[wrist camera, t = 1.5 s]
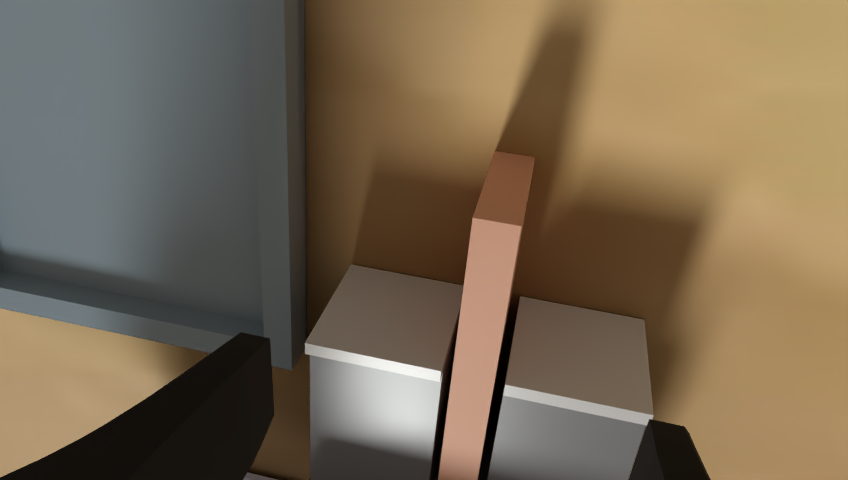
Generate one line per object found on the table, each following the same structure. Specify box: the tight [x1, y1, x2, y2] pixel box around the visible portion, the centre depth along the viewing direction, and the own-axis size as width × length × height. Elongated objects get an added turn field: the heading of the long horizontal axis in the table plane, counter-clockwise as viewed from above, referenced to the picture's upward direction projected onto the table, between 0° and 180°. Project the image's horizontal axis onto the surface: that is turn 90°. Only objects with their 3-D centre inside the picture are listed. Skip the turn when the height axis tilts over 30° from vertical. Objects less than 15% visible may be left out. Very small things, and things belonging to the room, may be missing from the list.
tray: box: [0, 0, 307, 370], centre depth 22 cm, size 17×13×2 cm
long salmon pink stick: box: [438, 151, 535, 480], centre depth 22 cm, size 11×1×4 cm, turn 176°
